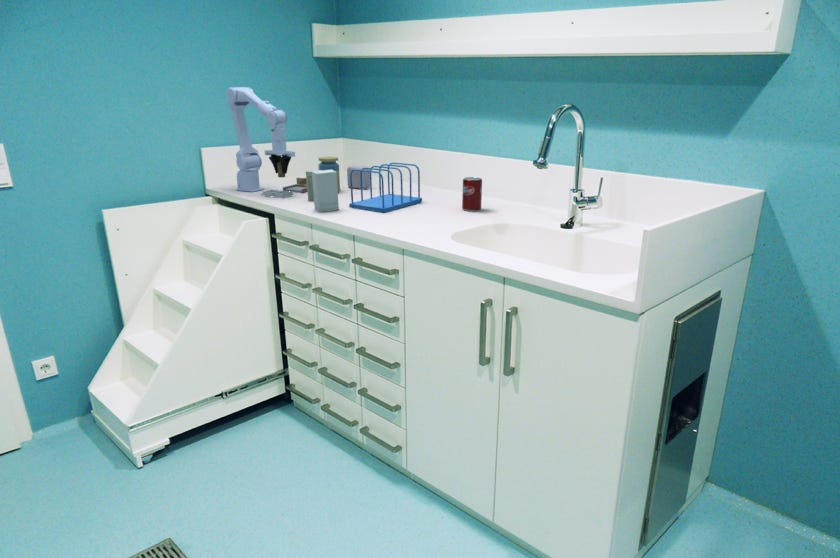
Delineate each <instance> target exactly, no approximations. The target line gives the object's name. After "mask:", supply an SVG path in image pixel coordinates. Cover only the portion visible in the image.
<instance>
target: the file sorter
mask: <svg viewBox="0 0 840 558" xmlns="http://www.w3.org/2000/svg"><path fill="white" fill-rule="evenodd" d="M409 166H412V167H413V166H414V167H415V168H416V169H417V188H418V191H417V194H418V195H417V197H416V196H412V170H411V169H410V167H409ZM400 168H405V169H407V170H408V172H409V195H403V193H404V192H403V190H404V189H403V173H402V170H401V169H400ZM364 169H370V171H368V170H364ZM390 169H391V170H397V171H398V172H399V174H400V194H394V193H395V192H394V175H393V173H392V171H391V170H390ZM353 171H361V172H360V180H361V189H360V194H361V195H360V197H361V199H360V200H358V201H355V202H354V193H353V189H354V188H352V173H353ZM381 171H382V172H383V171H384V172H387V191H388V193H387V194H385V191H384V190H385V188H384V176H383V174H382V173H381ZM362 172H370V187H369V190H370V191H369V193H370V198H366V199H364V195H363V193H364V192H363V191H364V189H363V188H362ZM372 173H375V174H378V186H379V195H378V196H374V197H373V183H372V181H373V180H372ZM420 175H421V173H420V168H419V166H417V164H415V163H414V164H413V163H403V162H390V163H389V164H387V163H383V164H381V165H373V166H370V167H369V168H363V169H362V170H357V169H354V170H352V171H351V173H350V184H351V188H350V198H351V199H350V200H351V202H350V203H349V208H350V207H352V208H351V209H357V208H358V210H363V209H365V210H364V211H372V212H378V213H382V212H383V213H388V212H392V211H394V210H397V209H401V208H405V207H409V206H412V205H415V204H420V203H423V198H422V197H421V188H420V187H421V186H420V185H421V184H420V183H421V182H420V181H421V176H420ZM390 176H391V184H390ZM390 185H391V187H390ZM390 188H391V189H390ZM390 191H391V192H390Z"/></svg>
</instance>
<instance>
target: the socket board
mask: <svg viewBox="0 0 840 558" xmlns="http://www.w3.org/2000/svg"><path fill="white" fill-rule="evenodd" d="M294 194H295V193H294V192H289V191H283V190H277V189H267V190H264V191H262V193H261V196H262V195H265V196H264V197H270V196H273V197H274V198H279V197H281V199H285V197H286V198H289V196H290V197H293V196H292V195H294ZM294 196H295V195H294ZM273 197H272V198H273Z"/></svg>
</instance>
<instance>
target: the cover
mask: <svg viewBox="0 0 840 558" xmlns="http://www.w3.org/2000/svg"><path fill="white" fill-rule="evenodd" d="M295 179H296V180H295V181H296V184H297V185H300V186H304V187H307V181H306V177H296V178H295Z"/></svg>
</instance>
